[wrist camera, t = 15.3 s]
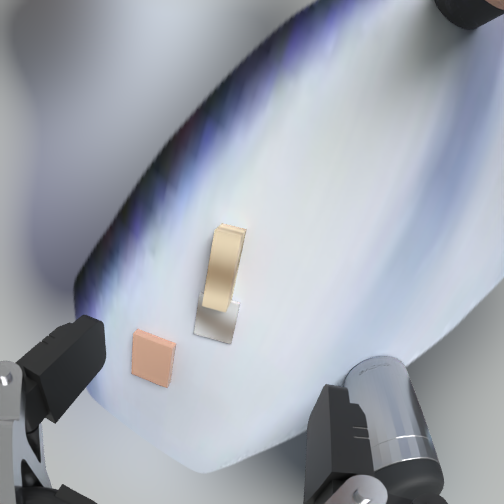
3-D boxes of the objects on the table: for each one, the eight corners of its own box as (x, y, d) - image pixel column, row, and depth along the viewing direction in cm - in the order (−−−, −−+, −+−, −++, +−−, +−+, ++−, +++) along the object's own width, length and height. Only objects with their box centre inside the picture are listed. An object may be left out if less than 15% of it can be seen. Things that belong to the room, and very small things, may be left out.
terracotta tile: (133, 333, 40) (131, 373, 43) (172, 348, 40) (167, 388, 42) (138, 327, 42) (136, 367, 44) (177, 341, 41) (171, 381, 44)
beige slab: (212, 221, 35) (204, 227, 32) (256, 231, 35) (251, 239, 32) (195, 331, 40) (187, 344, 37) (231, 341, 40) (226, 356, 36)
